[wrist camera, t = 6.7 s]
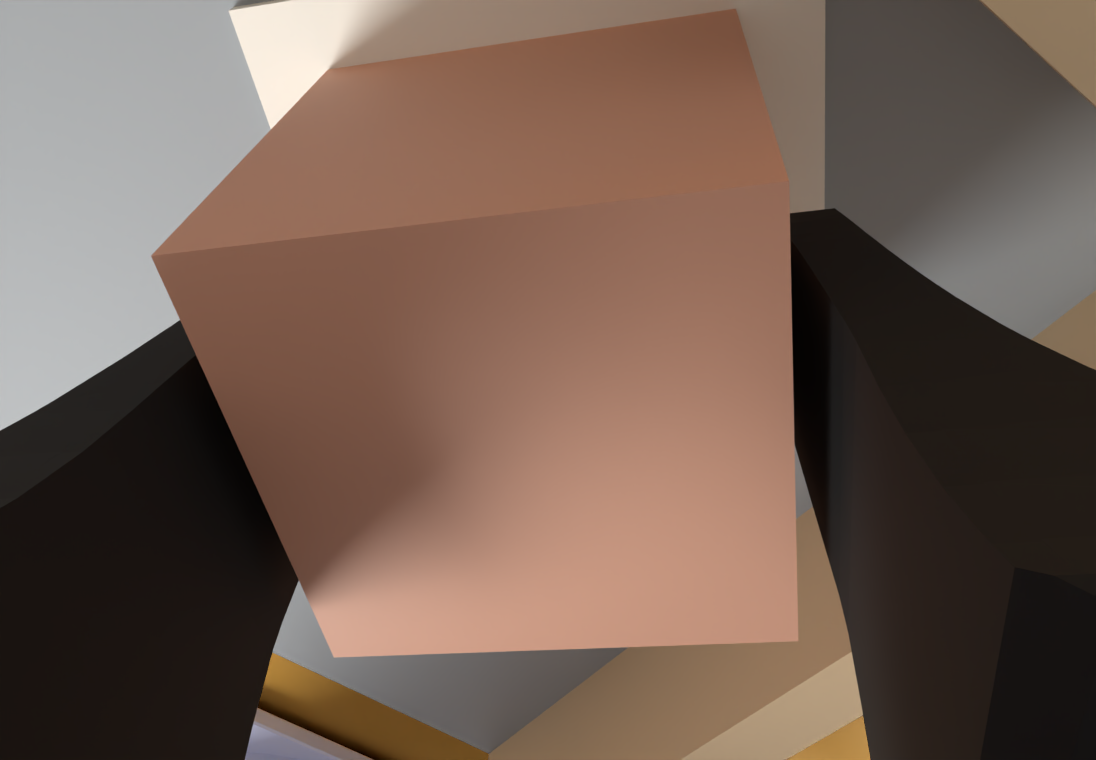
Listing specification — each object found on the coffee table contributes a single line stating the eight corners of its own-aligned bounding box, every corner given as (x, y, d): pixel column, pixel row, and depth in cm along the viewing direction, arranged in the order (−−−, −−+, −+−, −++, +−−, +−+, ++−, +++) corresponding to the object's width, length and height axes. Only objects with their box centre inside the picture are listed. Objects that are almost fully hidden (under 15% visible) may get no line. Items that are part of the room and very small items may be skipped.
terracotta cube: (753, 364, 13) (798, 640, 9) (424, 392, 14) (333, 657, 10) (735, 8, 11) (789, 180, 7) (328, 69, 11) (151, 255, 7)
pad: (822, 408, 14) (824, 415, 14) (386, 443, 15) (384, 449, 15) (823, -91, 10) (826, -89, 10) (233, 6, 11) (228, 10, 11)
